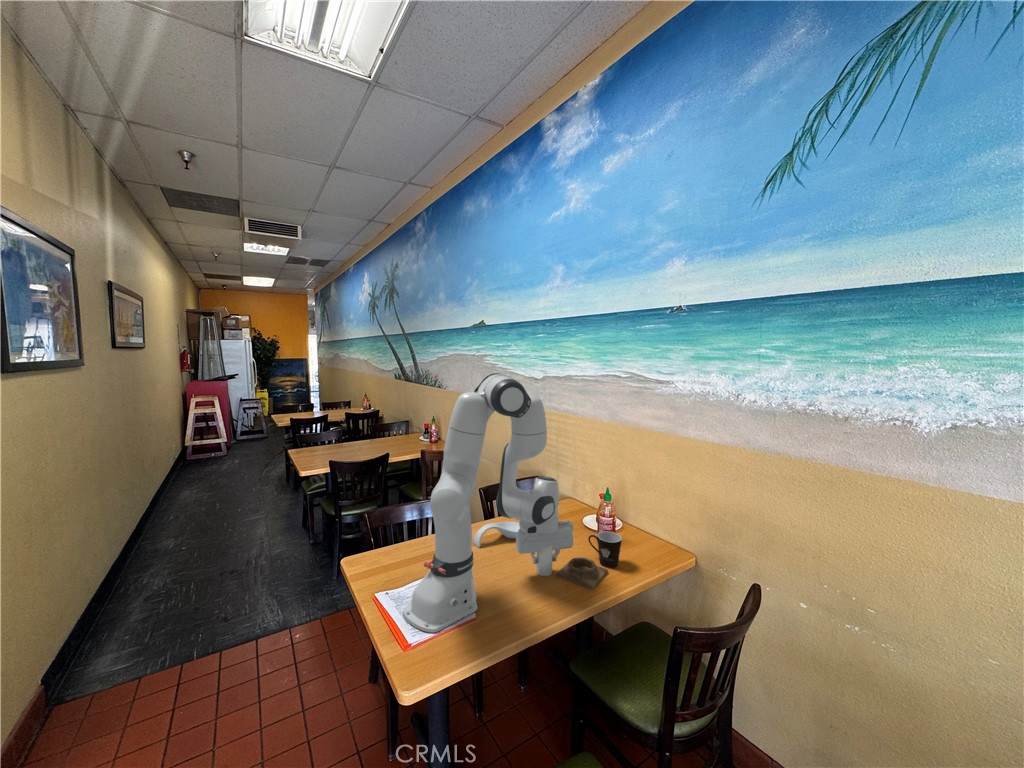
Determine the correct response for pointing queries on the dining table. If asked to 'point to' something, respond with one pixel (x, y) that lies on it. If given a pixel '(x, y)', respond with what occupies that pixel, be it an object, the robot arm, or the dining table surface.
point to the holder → (582, 572)
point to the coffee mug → (608, 548)
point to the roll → (545, 561)
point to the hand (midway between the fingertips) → (544, 561)
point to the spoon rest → (504, 527)
